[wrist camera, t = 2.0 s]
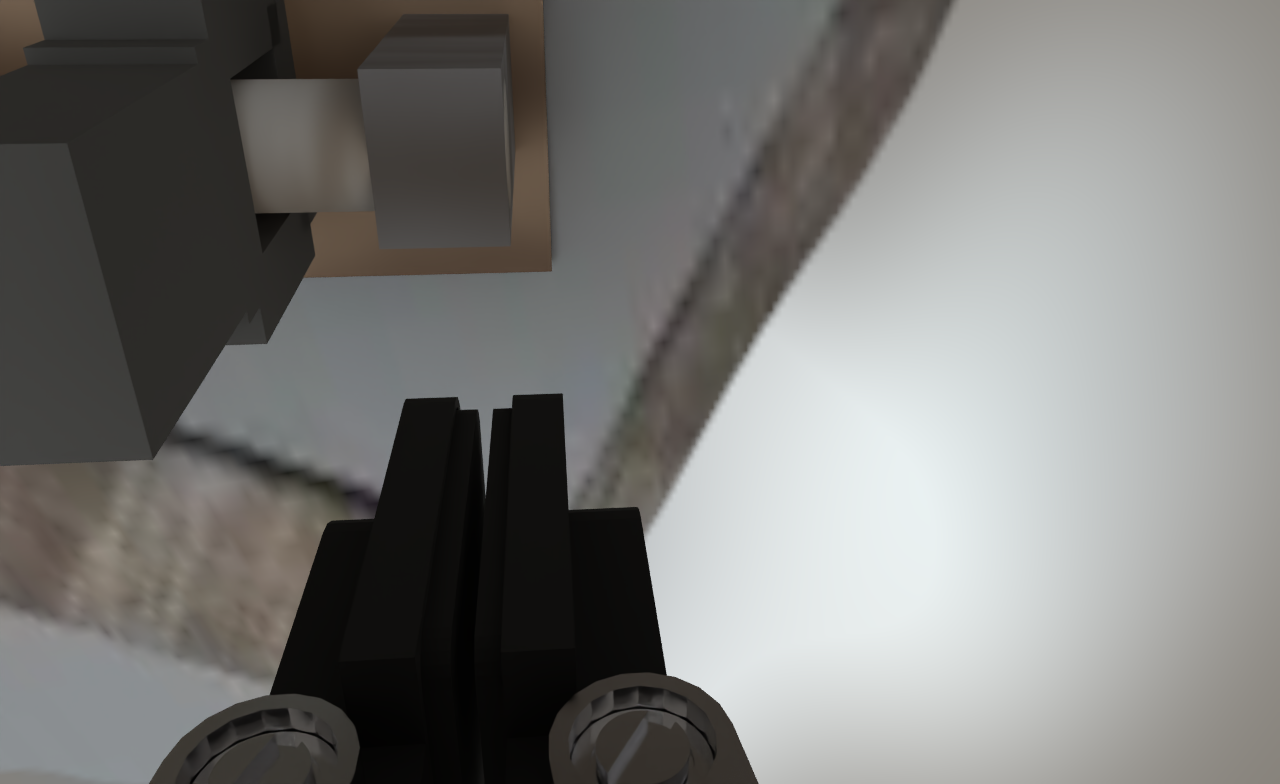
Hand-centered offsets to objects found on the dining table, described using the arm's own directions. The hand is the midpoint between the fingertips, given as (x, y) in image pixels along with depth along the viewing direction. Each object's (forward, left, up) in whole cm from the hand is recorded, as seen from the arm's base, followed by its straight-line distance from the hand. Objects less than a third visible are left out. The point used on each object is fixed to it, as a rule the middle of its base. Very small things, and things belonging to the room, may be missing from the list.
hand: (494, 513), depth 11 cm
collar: (0, -7, -18) cm, 19 cm away
